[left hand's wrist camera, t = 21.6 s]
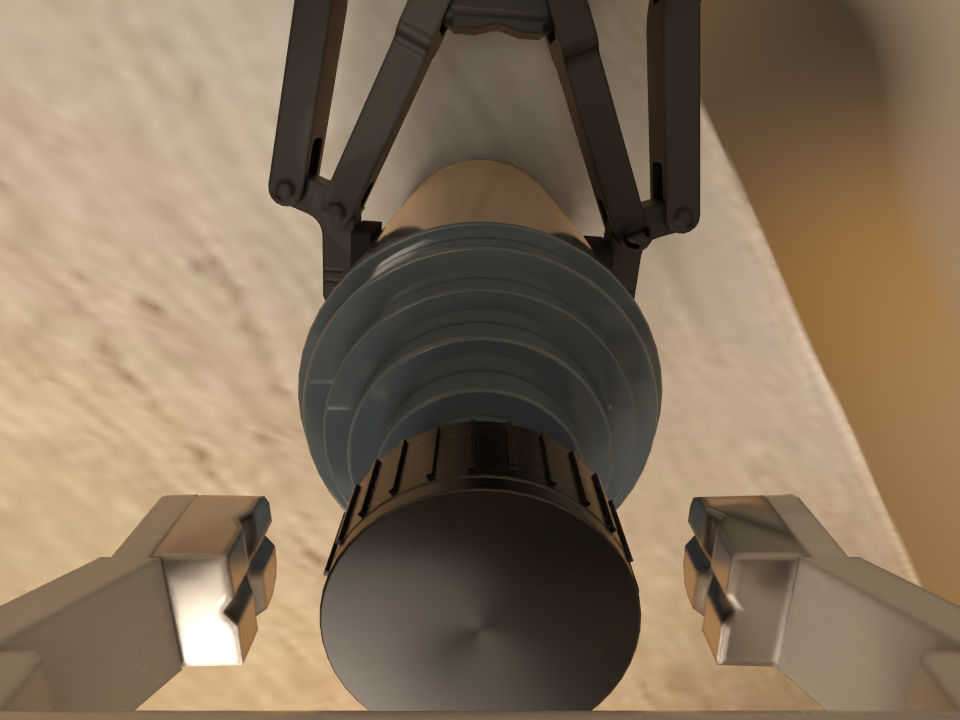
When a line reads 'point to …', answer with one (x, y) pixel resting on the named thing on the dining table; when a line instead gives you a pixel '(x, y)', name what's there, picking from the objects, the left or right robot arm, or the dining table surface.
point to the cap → (480, 578)
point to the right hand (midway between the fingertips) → (472, 390)
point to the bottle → (480, 334)
